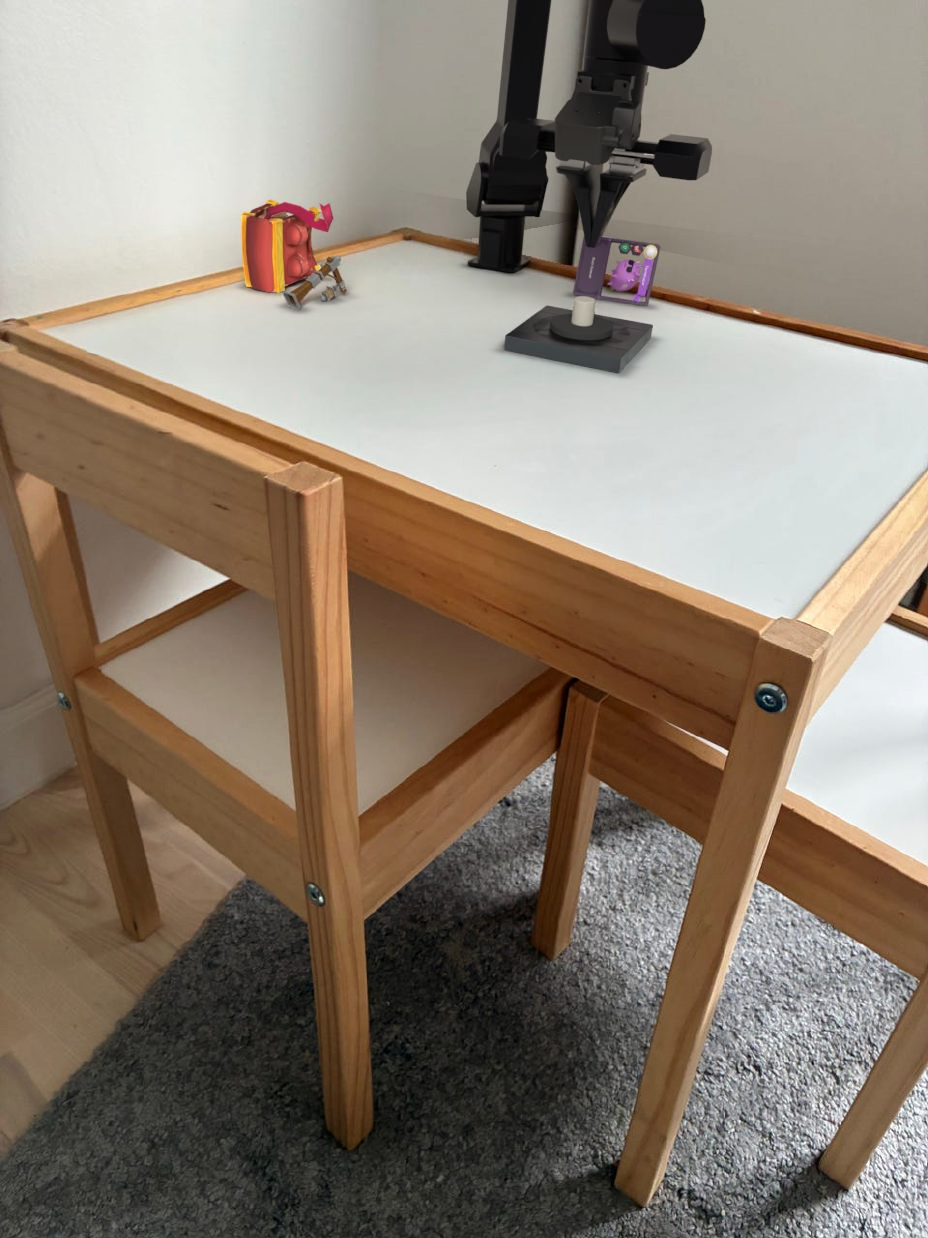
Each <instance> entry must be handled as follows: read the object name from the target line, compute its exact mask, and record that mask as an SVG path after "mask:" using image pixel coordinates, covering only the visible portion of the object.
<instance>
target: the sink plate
mask: <svg viewBox="0 0 928 1238" xmlns="http://www.w3.org/2000/svg"><path fill="white" fill-rule="evenodd" d="M572 311H573V309H570V308H563V307H558V306H552V305H545V306H544V307H542V308H540V309H539V310H538V311H537V312H536V313H534V314H532V315H531V316H530V317H529V318H527V319H526V320H524V321H523V322H522V323H520V324H519V325H518V326H516V327H515V328H513V329H512V330H511V331H509V332H507V334H506V335H504V337H505V338H504V349H503V351H506V352H507V351H508V352H513V353H517V354H521V355H526V356H533V357H537V358H542V359H546V360H551V361H557V362H561V363H566V364H572V365H577V366H581V367H587V368H590V369H591V368H592V369H596V370H601V371H606V372H612V373H615V374H620V373H621V372H622V370H623V369H624V368H625V367H627V365H628V364H629V362H631V361H632V359H633V358H635V356H636V355H637V354H638V353H639V352H640V351H641V350H642V348H643V347H644V346H645V345H646V344H647V343H648V342H649V341H650V340H651V339H652V333H653V328H654V324H651V323H645V322H640V321H635V320H630V319H625V318H619V317H613V316H607V315H603V314H597V313H594V316H597V317H601V318H603V319H606V320H608V321H610V322H611V323H612V324H613V332H612V335H611V336H610V337H608V338H605V339H600V340H576V339H570V338H566V337H563V336H560V335H557V334H555V333H554V332H552V331H551V329H550V321H551V319H552V318H553V317H555V316H558V315H563V314H572Z"/></svg>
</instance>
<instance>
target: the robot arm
mask: <svg viewBox="0 0 928 1238" xmlns="http://www.w3.org/2000/svg"><path fill="white" fill-rule="evenodd" d="M551 7H552V0H508V1H507V8H506V9H507V10H506V20H505V32H504V40H503V41H504V43H503V52H502V61H501V63H502V64H501V74H500V83H499V93H498V101H497V103H498V104H497V115H496V119H495V122H494V124H493V125H492V127H491V128H490V130H489V131H488V132H487V133H486V136H485V137H484V138H483V140H482V141H481V143H480V148H479V155H478V162H476V163H475V164H474V167H473V171H472V174H471V176H470V180H469V182H468V186H467V188H466V191H465V196H466V197H465V200H466V211H468V212H469V213H470V214H471V215H472V216H473V217H474V218H479V225H478V226H479V229H478V244H477V245H478V246H477V255H476V256H475V257H472V258H471V259H468V260H467V266H470V267H476V268H482V269H488V270H494V271H500V272H506V273H516V272H517V271H519V270H521V269H522V268H524V267H525V266H527V265H529V264H531V260H532V259H531V258H530V257H524V256H523V250H524V249H523V248H524V237H525V235H524V234H525V227H526V225H525V224H526V217H527V218H528V217H530V218H531V217H534V218H540V217H541V212H542V210H543V207H544V206H543V205H544V202H545V196H546V191H547V187H548V184H549V181H550V180H549V176H548V170H547V162H548V155H547V153H554V157H555V158H556V160H559V165H557V166H556V167H555V169H556V173H557V174H559V175H564V176H565V177H566V179H567V180H568V182H569V183H570V185H571V187H572V189H573V192H574V195H575V199H576V202H577V207H578V211H579V216H580V221H581V227H582V231H583V237H585V242H586V246H587V247H591V248H595V247H597V245H598V243H599V241H600V239H601V237H603V235H604V233H605V232H606V229H607V228H608V225H609V223H610V220H611V219H612V218H613V215H614V212H615V211H616V209H617V207H618V205H619V203H620V202H621V200H622V198H623V196H624V195H625V193H626V191H627V190H628V188H629V187H630V185H631V184H632V183H634V182H635V181H637V180H639V179H641V178H643V177H644V176H646V175H647V168H646V167H645V166H646V165H651V166H652V167H653V168H654V170H655V172H656V173H657V174H658V176H659V177H660V178H667V179H674V180H675V179H676V180H681V181H698V180H699V179H700V178H702V177H704V176H705V175H706V174H708V173H709V172H710V171H709V170H710V165H711V160H712V155H713V146H712V143H711V141H710V140H709V138H708V137H701V136H700V137H699V136H692V135H691V136H690V135H683V134H673V133H671V134H669V135H667V136H664V137H662V138H660V139H659V140H658V142H657V141H649V140H641V139H640V140H639V138H640V136H641V131H642V130H641V129H642V119H643V118H642V110H643V103H644V98H645V97H644V96H645V89H646V87H647V86H648V81H649V75H650V72H649V71H648V68H649V67H651V68H656V69H659V70H670V69H674V68H677V67H679V66H681V65H683V64H684V63H685V62H687V61H688V60H689V59H691V57H692V56H693V54H694V53H695V52H696V51H697V49H698V47H699V45H700V44H701V41H702V40H703V37H704V32H705V29H706V21H707V19H706V17H705V7H704V4H703V1H702V0H588V5H587V7H588V8H587V16H586V26H585V27H586V28H585V33H584V43H583V51H582V52H583V53H582V55H583V56H582V61H581V62H582V63H581V70H578V71H577V73H576V74H577V76H576V79H575V83H574V84H575V85H574V90H573V93H572V95H571V97H570V99H568V100H567V101H566V102H565V104H564V105H563V106H562V108H561V109H560V111H559V112H558V113H557V114H556V116H555V117H554V120H551V119H543V118H538V113H539V112H538V111H539V104H540V97H541V87H542V80H543V73H544V63H545V56H546V48H547V41H548V31H549V24H550V16H551V9H552V8H551ZM606 163H608V164H609V168H608V169H607V170H605V171H604V164H606Z"/></svg>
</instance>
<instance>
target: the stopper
mask: <svg viewBox="0 0 928 1238" xmlns="http://www.w3.org/2000/svg"><path fill="white" fill-rule="evenodd" d="M596 302H597V301H596V298H591V297H586V296H575V297H574V298H573V304H572V310H573V311H572V314H563V315H558V316H555V317H553V318H552V319H551V321H550V329H551V331H552V332H554V333H555V334H557V335H560V336H563V337H566V338H570V339H576V340H600V339H605V338H608V337H610V336H611V335H612V332H613V324H612V323H611V322H610V321H608V320H606V319H603V318H601V317H597V316H594V314H595V312H596V311H595V310H596Z"/></svg>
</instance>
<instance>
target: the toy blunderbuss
mask: <svg viewBox="0 0 928 1238" xmlns="http://www.w3.org/2000/svg"><path fill="white" fill-rule="evenodd" d="M325 260H326V261H324V265H323V266H322V267H321V268H320V269H319V270H318V271H317V270H316V271H314V272H315V274H314V273H312V275H311V276H310V277H309V278H306V279H305V282H303V283H302V284H301V285H299V286H297V287H296V288H295V289H292V290H291V291H287V290H284V291H282V292H281V293H282V296H283V298H284V300H285V302H286V305H287V307H289V308H292V309H293V310H297V311H299V310H300V309H301V305H300V303H301V302H302V301H303V299H304V298H305V297H306V296H307V295H308V294H309V292H310V291H312V290H315V289H316V288H317V286H320V284H322V282H324V281H325V280H326V277H328V278H332V279H334V281H335V284H336V285H332V287H331V286H328V285H326V289H325V290H323V291H321V292H320V294H321V296H320V301H322V302H326V301H327V302H330V300H331V299H333V297H337V294H336V292H338V290H339V292H340V293H343V294H346V293H347V292H348V289H347V286H346V283H345V280H344V279H343V278H342V276H341V273H340V271H339V267H340V266H341V261H342V258H341V256H340V255H331V256H327V257H326V258H325ZM331 272H332V273H331ZM330 273H331V274H332V275H331V274H330Z"/></svg>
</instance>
